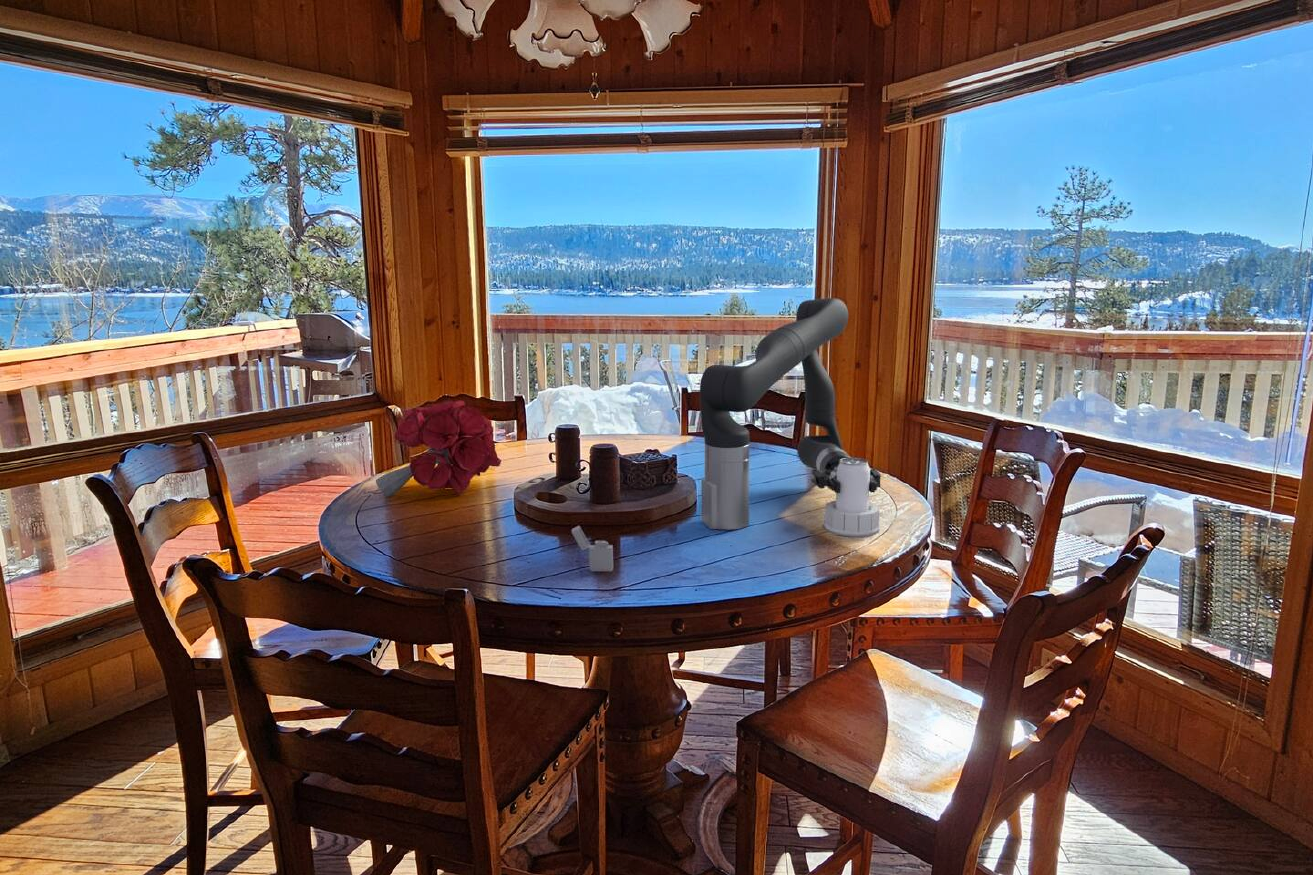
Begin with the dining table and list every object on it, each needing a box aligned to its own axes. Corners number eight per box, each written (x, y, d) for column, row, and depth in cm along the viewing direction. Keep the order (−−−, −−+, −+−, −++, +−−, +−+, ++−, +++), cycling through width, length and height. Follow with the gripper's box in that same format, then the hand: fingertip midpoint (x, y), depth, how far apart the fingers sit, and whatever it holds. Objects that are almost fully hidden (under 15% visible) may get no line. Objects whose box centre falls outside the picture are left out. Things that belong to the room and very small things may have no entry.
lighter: (613, 567, 144) (612, 525, 142) (612, 571, 142) (611, 528, 140) (574, 567, 144) (572, 525, 142) (572, 571, 142) (571, 528, 141)
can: (831, 520, 162) (833, 463, 159) (840, 511, 167) (842, 455, 165) (863, 524, 159) (866, 466, 156) (871, 515, 164) (873, 459, 162)
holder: (840, 539, 157) (841, 517, 156) (814, 522, 167) (815, 502, 166) (889, 533, 160) (890, 512, 159) (861, 517, 170) (862, 497, 169)
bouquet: (402, 538, 183) (514, 467, 185) (341, 452, 178) (456, 381, 180) (414, 516, 204) (514, 453, 206) (360, 439, 199) (463, 376, 201)
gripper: (804, 451, 175) (820, 470, 158) (869, 449, 175) (892, 469, 158) (803, 484, 176) (819, 506, 160) (868, 482, 176) (891, 505, 160)
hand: (855, 487), depth 159 cm, fingers closed on can, 6 cm apart
